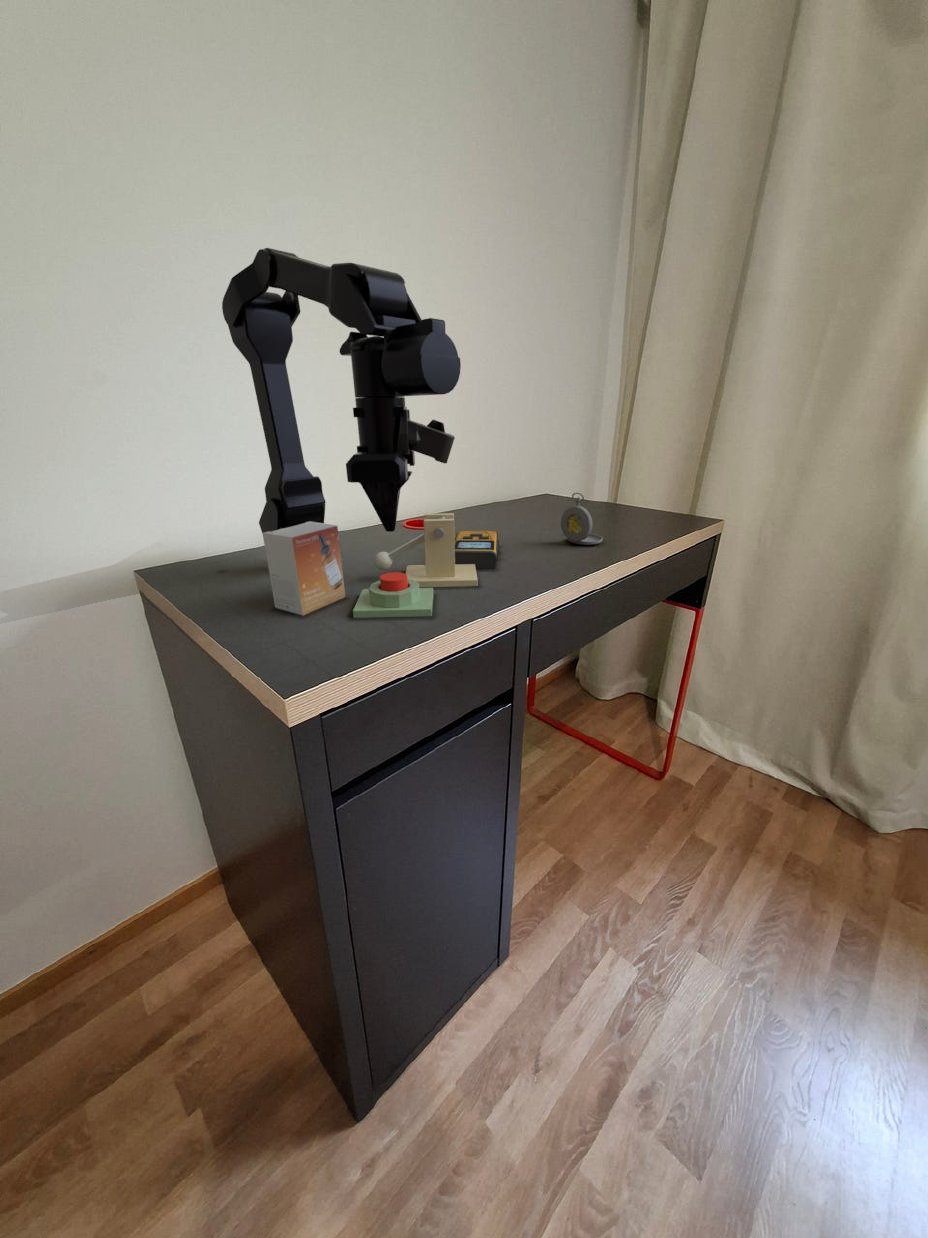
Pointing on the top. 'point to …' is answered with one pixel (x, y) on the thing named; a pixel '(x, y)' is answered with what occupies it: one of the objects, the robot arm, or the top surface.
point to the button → (393, 582)
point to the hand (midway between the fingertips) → (390, 530)
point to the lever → (396, 552)
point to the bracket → (441, 557)
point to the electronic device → (477, 548)
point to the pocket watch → (579, 525)
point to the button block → (394, 602)
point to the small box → (304, 566)
